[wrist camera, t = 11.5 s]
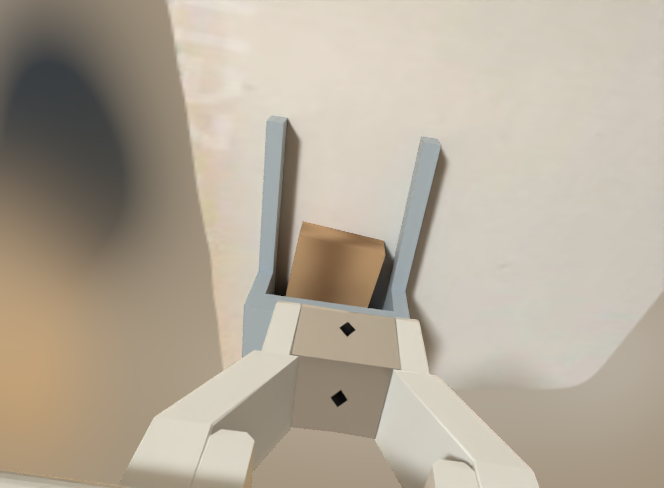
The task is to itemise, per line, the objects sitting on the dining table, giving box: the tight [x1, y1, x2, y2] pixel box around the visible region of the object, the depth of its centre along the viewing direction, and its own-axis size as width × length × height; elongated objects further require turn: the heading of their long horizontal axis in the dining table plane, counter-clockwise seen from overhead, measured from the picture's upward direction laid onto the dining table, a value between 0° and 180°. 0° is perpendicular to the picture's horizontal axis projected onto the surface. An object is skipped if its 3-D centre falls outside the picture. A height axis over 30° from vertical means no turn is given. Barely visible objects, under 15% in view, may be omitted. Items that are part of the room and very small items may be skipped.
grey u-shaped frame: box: [242, 116, 441, 358], centre depth 34 cm, size 12×20×7 cm, turn 173°
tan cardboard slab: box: [286, 222, 385, 308], centre depth 37 cm, size 7×10×3 cm
